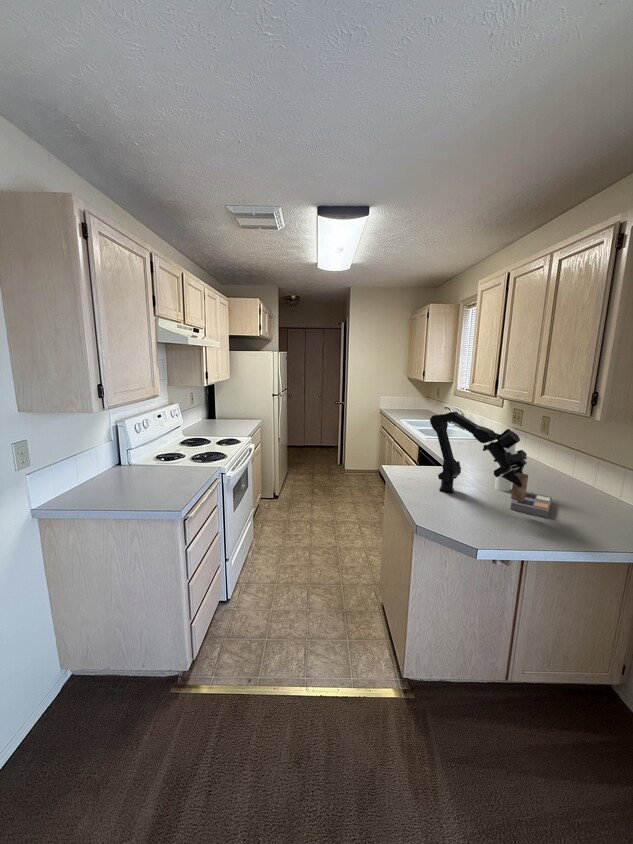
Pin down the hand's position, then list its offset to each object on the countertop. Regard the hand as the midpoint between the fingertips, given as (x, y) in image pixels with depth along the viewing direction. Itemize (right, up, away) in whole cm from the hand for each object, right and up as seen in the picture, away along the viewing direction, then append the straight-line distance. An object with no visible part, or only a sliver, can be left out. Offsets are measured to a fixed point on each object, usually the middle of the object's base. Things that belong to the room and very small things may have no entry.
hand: (523, 485), depth 147 cm
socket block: (+11, -12, +12) cm, 20 cm away
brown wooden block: (-1, -6, +2) cm, 7 cm away
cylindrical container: (+9, -8, +34) cm, 36 cm away
